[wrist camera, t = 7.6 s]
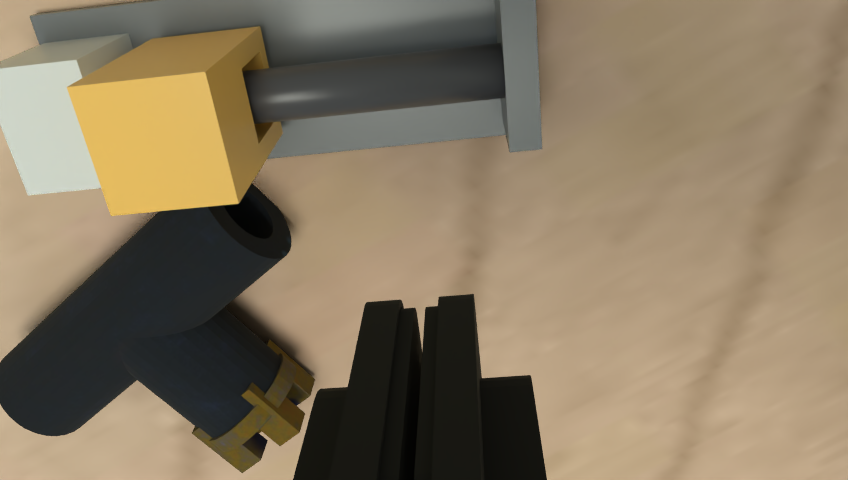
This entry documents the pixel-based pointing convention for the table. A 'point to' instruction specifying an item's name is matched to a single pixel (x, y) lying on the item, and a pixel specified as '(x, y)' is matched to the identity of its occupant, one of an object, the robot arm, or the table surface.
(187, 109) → the yellow sliding block
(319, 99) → the grey slider rail base
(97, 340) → the pipe connector
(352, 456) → the robot arm
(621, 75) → the table surface
